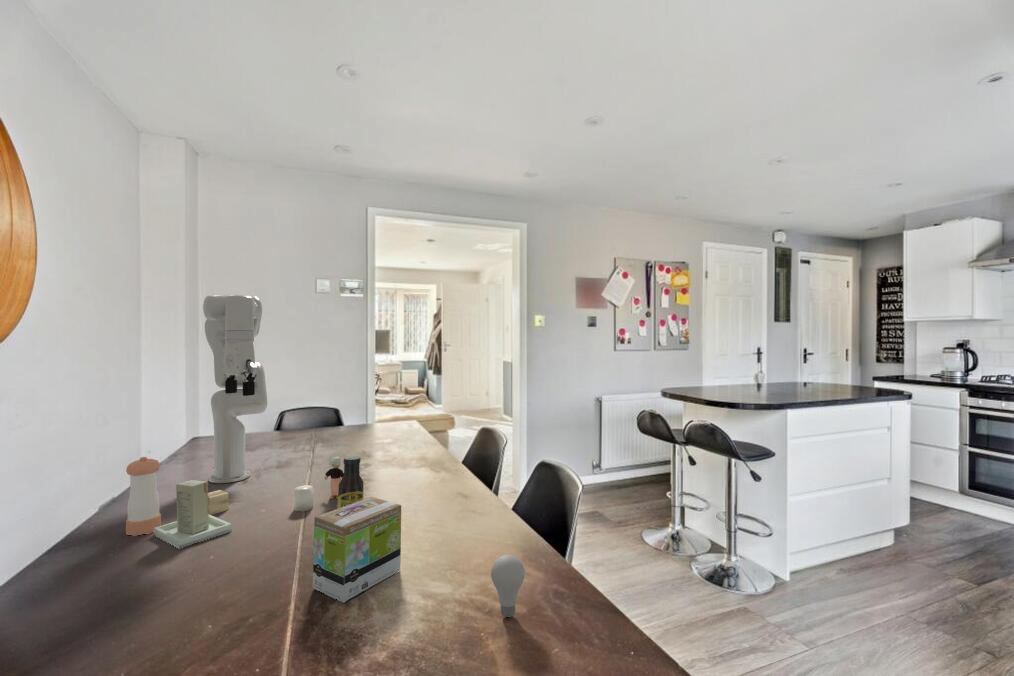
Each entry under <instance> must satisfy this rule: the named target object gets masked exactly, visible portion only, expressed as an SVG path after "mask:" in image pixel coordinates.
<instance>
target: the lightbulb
mask: <svg viewBox="0 0 1014 676" xmlns="http://www.w3.org/2000/svg"><path fill="white" fill-rule="evenodd" d="M525 571H526V570H525V567H524V565H523V562H522V561H521V560H520V559H519V558H518V557H517V556H515V555H513V554H504V555H501V556H499V557H497V558H496V559H495V561H494V562H493V564H492V566H491V569H490V577H491V582H492V583H493V586H494V587H495V589H496V591H497V594H498V602H499V604H500V614H501V616H502V617H504V618H506V617H510V618H512V617H513V616H515V613H516V604H517V601H518V600H517V599H518V594H519V590H520V589H521V587H522V585H523V583H524V581H525V576H526V573H525Z"/></svg>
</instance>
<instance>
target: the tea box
mask: <svg viewBox="0 0 1014 676" xmlns="http://www.w3.org/2000/svg"><path fill="white" fill-rule="evenodd" d="M313 525H314V527H313V559H312V560H313V561H312V563H313V566H312V567H313V570H312V589H314V590H316V591H318V592H319V591H320V592H319V593H321V592H322V594H323V593H324V595H325V596H328V597H330V598H331V599H333V600H336V599H337V600H336V601H338V602H340V603H343V604H344V603H346V602H348V601H349V600H350V599H353V598H354V597H355V596H358V595H359V594H361V593H363V592H365V591H366V590H368V589H369V588H371V587H374V586H375V585H377V584H379V583H381V582H382V581H385V580H386V579H388V578H390V577H392V576H394V575H396V574H397V573H399V572H400V571H401V561H402V560H401V554H402V550H401V547H402V538H401V537H402V504H399V503H396V502H392V501H389V500H385V499H381V498H377V497H374V496H369V497H367V498H363V500H361V501H358V502H355V503H352V504H350V505H347V506H344V507H341V508H338V509H337V508H336V509H333V510H331V511H327V512H324V513H322V514H319V515H316V516H314V524H313ZM398 571H399V572H398ZM395 573H396V574H395ZM393 574H394V575H393Z"/></svg>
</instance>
